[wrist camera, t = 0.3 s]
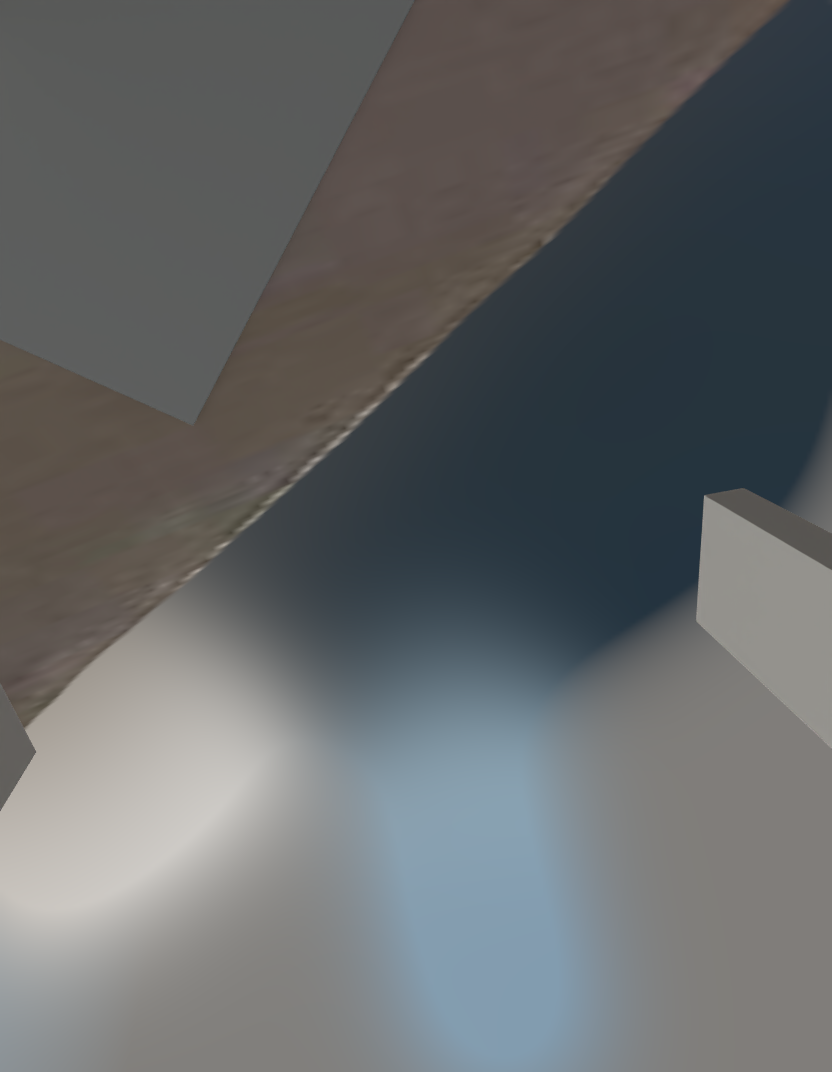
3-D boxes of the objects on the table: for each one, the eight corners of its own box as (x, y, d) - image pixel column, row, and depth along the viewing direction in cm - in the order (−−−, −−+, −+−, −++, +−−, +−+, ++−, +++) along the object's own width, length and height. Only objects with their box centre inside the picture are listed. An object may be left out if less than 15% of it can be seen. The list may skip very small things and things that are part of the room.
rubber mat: (-287, -879, 14) (-297, -895, 14) (453, -77, 25) (455, -78, 24) (-323, 192, 25) (-328, 193, 25) (193, 423, 36) (193, 425, 36)
